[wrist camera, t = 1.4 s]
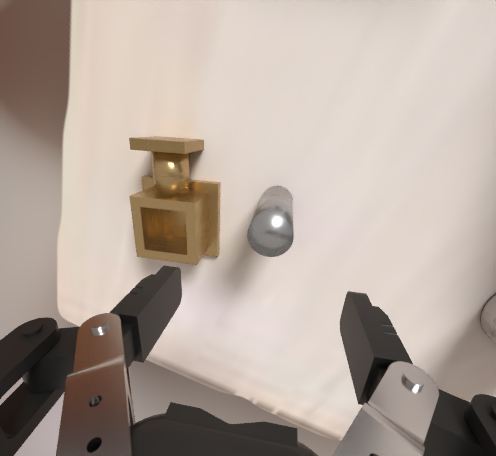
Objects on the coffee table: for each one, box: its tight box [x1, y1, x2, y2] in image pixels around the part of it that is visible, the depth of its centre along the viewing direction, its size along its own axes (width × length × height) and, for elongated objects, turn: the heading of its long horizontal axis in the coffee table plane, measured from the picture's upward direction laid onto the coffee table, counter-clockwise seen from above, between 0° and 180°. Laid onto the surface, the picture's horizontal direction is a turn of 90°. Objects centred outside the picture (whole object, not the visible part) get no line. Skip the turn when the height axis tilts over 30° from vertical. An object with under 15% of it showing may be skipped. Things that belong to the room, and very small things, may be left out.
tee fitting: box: [129, 137, 220, 265], centre depth 27 cm, size 9×13×5 cm
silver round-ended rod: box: [248, 186, 293, 257], centre depth 23 cm, size 3×3×10 cm
